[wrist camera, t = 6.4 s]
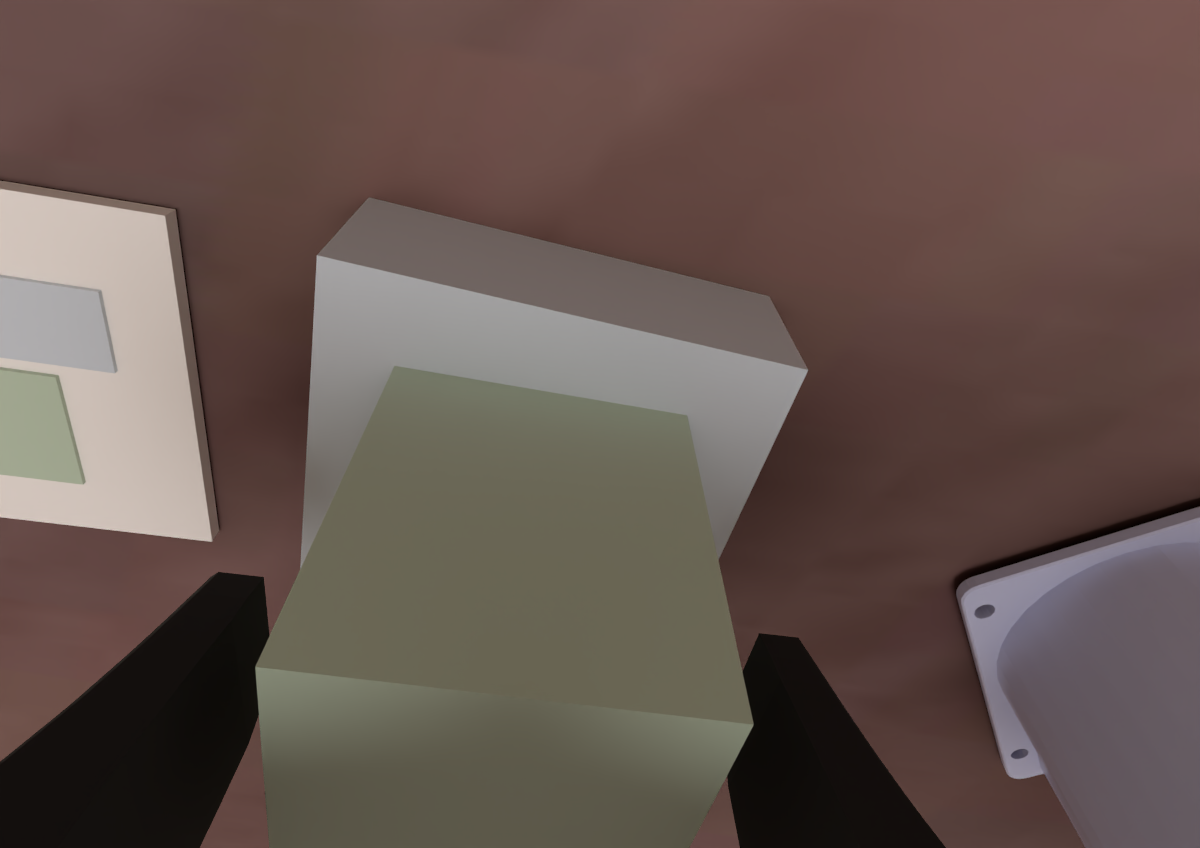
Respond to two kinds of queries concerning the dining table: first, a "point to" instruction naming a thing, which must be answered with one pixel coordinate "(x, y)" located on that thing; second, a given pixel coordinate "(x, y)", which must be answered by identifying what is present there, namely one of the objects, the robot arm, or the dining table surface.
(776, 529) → the dining table surface
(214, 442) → the dining table surface
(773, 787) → the robot arm
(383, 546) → the sage block
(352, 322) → the slate base
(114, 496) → the card
